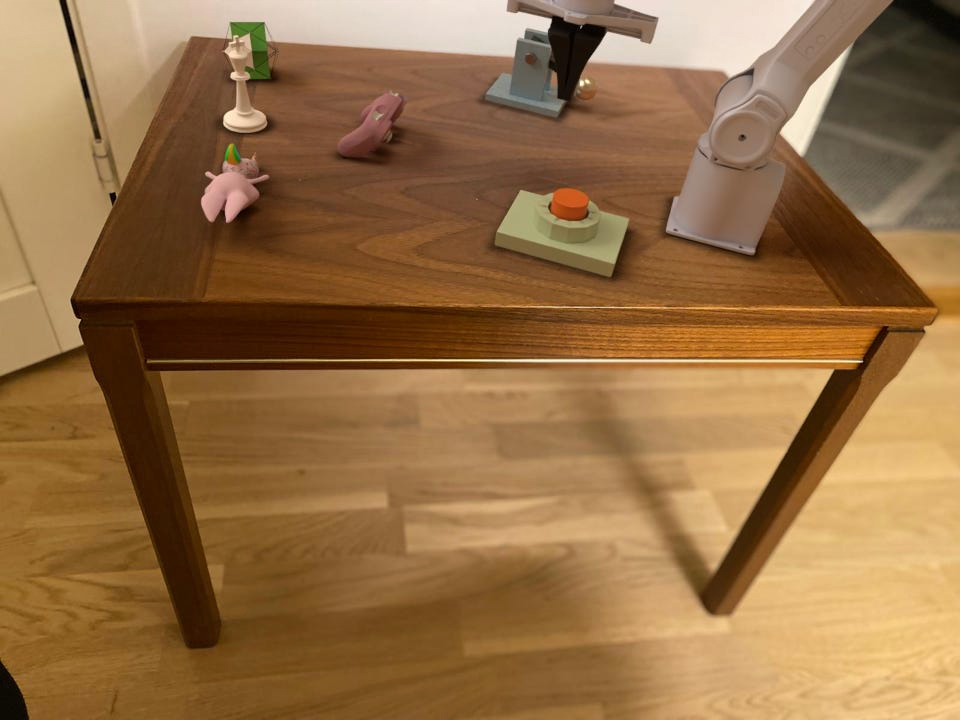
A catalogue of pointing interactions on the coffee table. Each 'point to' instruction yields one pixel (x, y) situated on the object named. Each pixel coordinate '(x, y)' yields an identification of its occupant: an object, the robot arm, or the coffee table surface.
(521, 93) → the switch bracket
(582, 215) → the button
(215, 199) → the pink plush unicorn
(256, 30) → the geometric puzzle
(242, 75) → the chess piece
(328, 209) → the coffee table surface
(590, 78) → the switch lever
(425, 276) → the coffee table surface
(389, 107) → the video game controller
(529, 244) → the button block
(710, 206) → the robot arm
